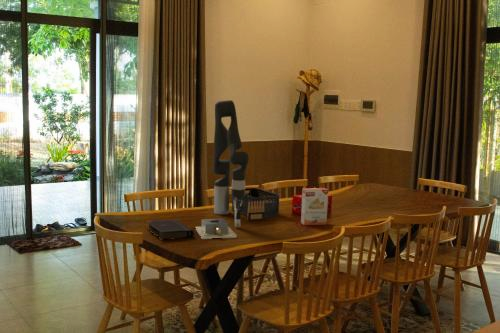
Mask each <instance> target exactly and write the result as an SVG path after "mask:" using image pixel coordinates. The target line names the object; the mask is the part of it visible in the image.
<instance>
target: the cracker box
mask: <svg viewBox="0 0 500 333" xmlns="http://www.w3.org/2000/svg"><path fill="white" fill-rule="evenodd" d="M301 194H302V195H301V214H300V215H301V216H300V217H301V218H300V224H301V225H303V226H326V225H327V220H328V219H327V217H328V205H329V204H328V203H329V189H328V188H326V187H320V188H319V187H317V188H316V187H313V188H311V187H309V188H307V187H305V188H302V193H301Z"/></svg>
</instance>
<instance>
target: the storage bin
mask: <svg viewBox="0 0 500 333" xmlns="http://www.w3.org/2000/svg"><path fill="white" fill-rule="evenodd" d="M245 192H248V193H245V196H244V197H242V198H241V199H242V203H243V208H242V212H241V215H243V216H246V217H247V212H248V203H249V201H250V208H251V202H252V201H253V207H254V201H255V202H256V204H257V200H258V205H259V203H260V200H261V207H262V202H263V200H264V212H265V219H266V218H273V217H278V216H280V215H279V214H280V212H279V210H280V209H279V208H280V194H278V193H276V192H271V191H270V190H269V191H268V190H265V189H262V188H258V187H245ZM233 199H235V197H232V196H231V211H233V212H235V210H234V204H233Z"/></svg>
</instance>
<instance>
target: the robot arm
mask: <svg viewBox="0 0 500 333" xmlns="http://www.w3.org/2000/svg"><path fill="white" fill-rule="evenodd" d="M227 117H230V124H229V127H228V129H227V127H226V126H225V124H224V123H223V121H222V119H223V118H227ZM242 146H243V142H242V140H241V136H240V132H239V125H238V116H237V111H236V106H235V102H234V101H233V100H231V99H230V100H218V101H216V102H215V104H214V137H213V159H212V167H211V168H212V173H213V175H216V176H217V175H220V176H223V177H221V178H219V179H217V180H215V181H214V186H213V187H214V193H213V194H214V195H213V196H214V197H213V198H214V199H213V200H214V203H213V204H214V205H213V214H215V215H228V214H229V213H230V196H231V198H232V197H235V199H233V204H235V206H234V210H235V208H236V212H237V213H236V219H237V220H238V219H240V220H241V215H242V214H241V212H242V208H243V207H244V206H243V203H242V199H241V198H242V197H244V196H245V194H246V191H245V188H246V171H247V167H248V164H249V157H250V156H249V153H248V152H247V151H238V150H240V149H241V148H242ZM228 148H229V154H228V155H229V156H228V159H221V156H222V155H223V154H224V153H225V151H226V150H227V149H228ZM231 165H234V166H235V165H236V166H237V165H239V166H238V167H237V168H234V169H233V170H232V174H231ZM230 175H232V176H230ZM230 177H231V180H230ZM230 181H231V191H230ZM230 192H231V195H230ZM237 206H238V207H237ZM239 209H240V210H239Z"/></svg>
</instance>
